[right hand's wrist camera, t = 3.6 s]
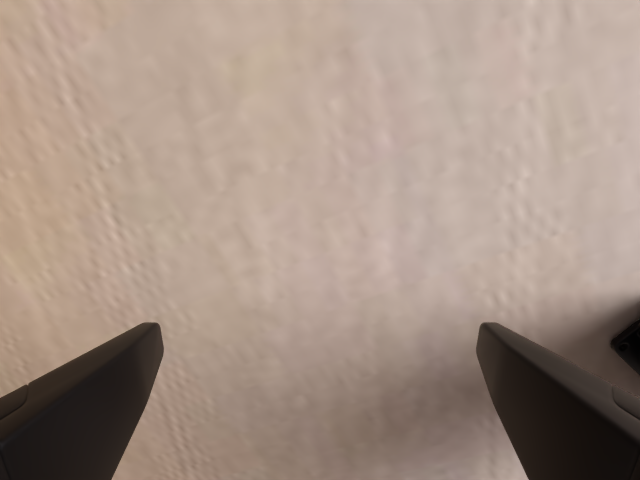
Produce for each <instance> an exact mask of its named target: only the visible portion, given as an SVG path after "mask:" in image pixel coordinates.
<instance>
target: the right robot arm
mask: <svg viewBox="0 0 640 480" xmlns="http://www.w3.org/2000/svg"><path fill="white" fill-rule="evenodd" d="M622 344H623V345H622ZM621 345H622V346H621ZM611 348H612V349H613V350H614V351H615V352H616V353H617V354H618V355H619V356H620V357H621V358H622V359H623V360H624V361H625V362H627V363H628V364H629V365H630V366H631V367H632V368H633V369H634V370H635V371H636V372H637V373H638V374H639V375H640V320H638V321H637V322H636V323H634V324H633V325H632V326H630V327H629V328H628V329H626V330H625V331H624V332H622V333H621V334H620V335H618V336H617V337H616V338H614V339H613V340H612V342H611ZM163 352H164V347H163V341H162V335H161V328H160V325H159V324H158V323H142V324H140V325H138V326H136V327H134V328H132V329H130V330H128V331H127V332H125V333H123V334H121V335H119V336H117V337H115V338H113V339H111V340H110V341H108V342H106V343H104V344H102V345H100V346H98V347H96V348H94V349H93V350H91V351H89V352H87V353H85V354H83V355H81V356H79V357H77V358H75V359H74V360H72V361H70V362H68V363H66V364H64V365H62V366H60V367H58V368H57V369H55V370H53V371H51V372H49V373H47V374H45V375H43V376H41V377H40V378H38V379H36V380H34V381H32V382H30V383H29V384H28V385H24V386H22V387H20V388H19V389H17V390H15V391H13V392H11V393H9V394H7V395H5V396H3V397H1V398H0V480H111V479H112V477H113V475H114V473H115V471H116V468H117V466H118V464H119V462H120V460H121V458H122V456H123V454H124V451H125V449H126V447H127V445H128V443H129V441H130V439H131V437H132V434H133V432H134V430H135V428H136V426H137V424H138V422H139V419H140V417H141V415H142V413H143V411H144V409H145V406H146V404H147V401H148V399H149V396H150V393H151V390H152V387H153V384H154V381H155V378H156V375H157V372H158V369H159V366H160V363H161V360H162V357H163ZM476 352H477V357H478V360H479V363H480V366H481V369H482V372H483V375H484V378H485V381H486V384H487V387H488V390H489V393H490V396H491V399H492V401H493V404H494V406H495V409H496V411H497V413H498V415H499V417H500V419H501V422H502V424H503V426H504V428H505V430H506V432H507V434H508V437H509V439H510V441H511V443H512V445H513V447H514V449H515V451H516V454H517V456H518V458H519V460H520V462H521V464H522V466H523V468H524V471H525V473H526V475H527V477H528V479H529V480H640V398H639V397H637V396H635V395H633V394H631V393H629V392H627V391H625V390H623V389H621V388H620V387H618V386H616V385H612V384H611V383H610V382H608V381H606V380H604V379H602V378H601V377H599V376H597V375H595V374H593V373H591V372H589V371H587V370H585V369H583V368H582V367H580V366H578V365H576V364H574V363H572V362H570V361H568V360H566V359H565V358H563V357H561V356H559V355H557V354H555V353H553V352H551V351H549V350H547V349H546V348H544V347H542V346H540V345H538V344H536V343H534V342H532V341H530V340H529V339H527V338H525V337H523V336H521V335H519V334H517V333H515V332H513V331H512V330H510V329H508V328H506V327H504V326H502V325H500V324H498V323H482V324H481V325H480V328H479V335H478V341H477V347H476Z"/></svg>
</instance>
